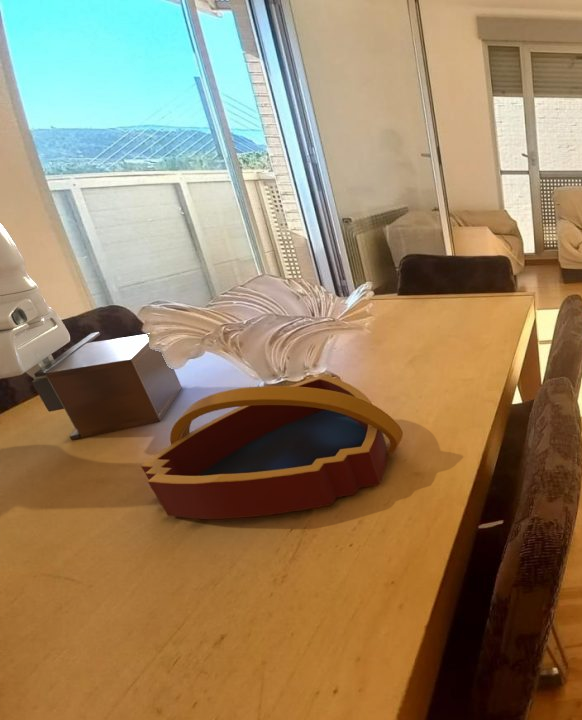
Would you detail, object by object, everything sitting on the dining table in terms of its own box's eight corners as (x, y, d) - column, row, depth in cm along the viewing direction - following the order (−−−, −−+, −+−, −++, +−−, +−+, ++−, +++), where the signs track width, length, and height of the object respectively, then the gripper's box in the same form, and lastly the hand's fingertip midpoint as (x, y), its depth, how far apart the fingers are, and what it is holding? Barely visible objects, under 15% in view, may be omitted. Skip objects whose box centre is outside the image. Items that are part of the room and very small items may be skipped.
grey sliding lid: (56, 433, 86) (24, 377, 81) (92, 397, 99) (66, 348, 94) (80, 428, 87) (49, 373, 83) (112, 394, 100) (87, 344, 96)
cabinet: (71, 440, 85) (33, 373, 80) (119, 388, 105) (91, 332, 100) (160, 421, 91) (130, 358, 86) (189, 375, 111) (167, 322, 105)
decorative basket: (114, 539, 65) (43, 458, 57) (254, 409, 90) (217, 340, 82) (359, 538, 65) (321, 457, 57) (432, 407, 89) (412, 338, 81)
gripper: (13, 298, 87) (50, 366, 92) (-59, 328, 71) (-8, 409, 76) (61, 293, 90) (94, 359, 95) (2, 321, 73) (47, 399, 79)
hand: (48, 382), depth 86 cm, fingers closed
